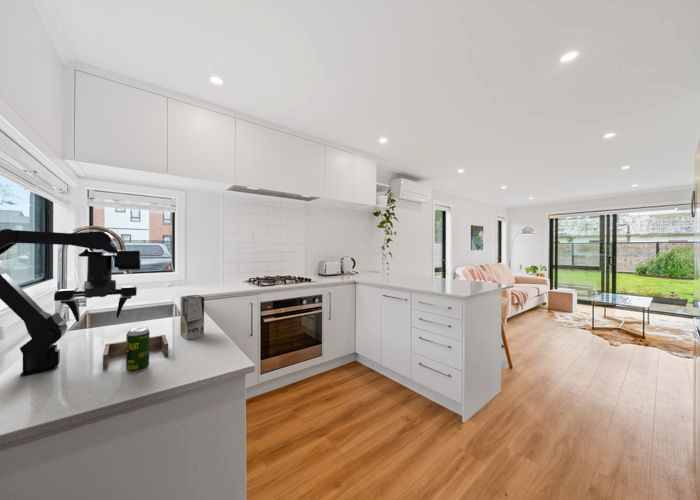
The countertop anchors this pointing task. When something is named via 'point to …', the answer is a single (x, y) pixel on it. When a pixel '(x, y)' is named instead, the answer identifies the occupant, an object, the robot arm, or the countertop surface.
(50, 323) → the robot arm
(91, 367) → the countertop surface
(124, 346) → the wooden u-shaped frame
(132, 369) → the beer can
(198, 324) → the coffee box
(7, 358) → the countertop surface
